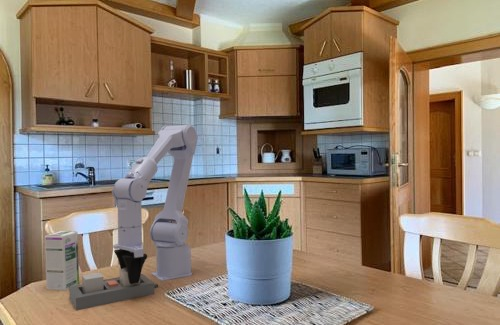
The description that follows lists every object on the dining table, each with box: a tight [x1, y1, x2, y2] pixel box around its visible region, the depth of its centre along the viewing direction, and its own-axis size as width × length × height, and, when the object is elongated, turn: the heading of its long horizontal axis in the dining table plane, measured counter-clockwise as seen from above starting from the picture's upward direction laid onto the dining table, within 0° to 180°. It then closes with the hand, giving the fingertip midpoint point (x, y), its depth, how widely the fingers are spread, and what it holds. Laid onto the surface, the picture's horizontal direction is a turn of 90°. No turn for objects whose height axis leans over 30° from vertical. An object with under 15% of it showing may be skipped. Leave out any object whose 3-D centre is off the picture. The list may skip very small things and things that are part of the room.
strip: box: [68, 272, 159, 311], centre depth 96 cm, size 20×9×6 cm, turn 124°
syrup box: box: [44, 230, 80, 291], centre depth 102 cm, size 6×6×14 cm
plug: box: [118, 267, 140, 287], centre depth 97 cm, size 4×4×6 cm
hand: (130, 279), depth 97 cm, fingers open, 5 cm apart
